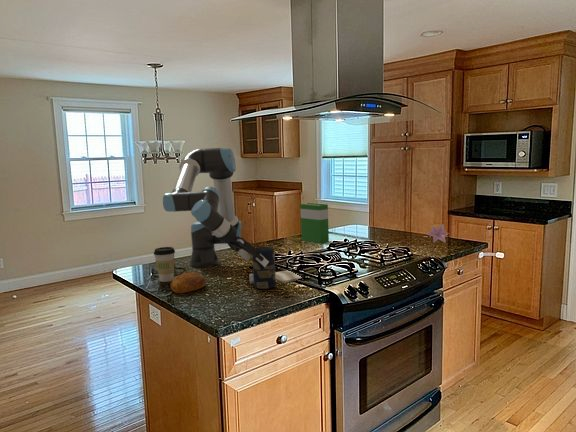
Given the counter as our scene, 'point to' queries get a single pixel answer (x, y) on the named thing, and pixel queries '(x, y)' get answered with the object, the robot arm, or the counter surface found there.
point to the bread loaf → (187, 282)
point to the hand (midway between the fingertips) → (257, 261)
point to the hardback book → (314, 223)
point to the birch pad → (286, 276)
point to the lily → (438, 233)
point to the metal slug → (251, 278)
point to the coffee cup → (165, 263)
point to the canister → (264, 269)
